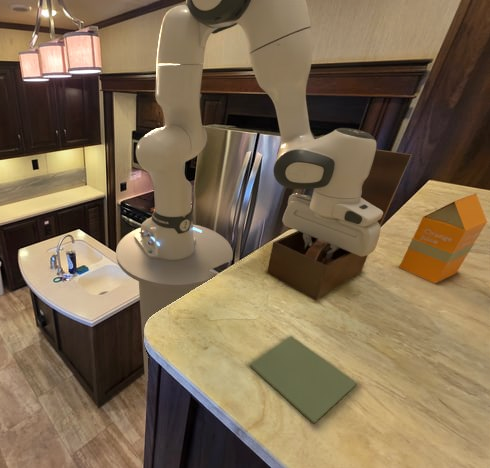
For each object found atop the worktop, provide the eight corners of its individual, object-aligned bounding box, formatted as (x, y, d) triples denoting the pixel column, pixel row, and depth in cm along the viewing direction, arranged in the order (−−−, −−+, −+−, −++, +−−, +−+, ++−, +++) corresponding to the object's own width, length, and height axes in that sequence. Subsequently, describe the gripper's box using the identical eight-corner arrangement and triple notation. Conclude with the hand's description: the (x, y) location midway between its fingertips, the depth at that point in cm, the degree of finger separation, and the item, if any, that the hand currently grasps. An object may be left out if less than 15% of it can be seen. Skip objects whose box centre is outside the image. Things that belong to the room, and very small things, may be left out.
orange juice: (457, 273, 71) (502, 198, 62) (435, 283, 69) (479, 207, 59) (418, 257, 78) (454, 187, 68) (397, 267, 75) (431, 195, 65)
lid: (410, 154, 60) (420, 152, 63) (343, 145, 71) (353, 143, 73) (373, 239, 69) (383, 234, 71) (318, 219, 80) (328, 216, 82)
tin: (307, 285, 70) (319, 257, 66) (293, 279, 72) (304, 252, 68) (327, 259, 79) (338, 233, 74) (314, 254, 81) (325, 228, 76)
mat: (249, 365, 54) (249, 364, 53) (290, 337, 58) (291, 336, 58) (313, 424, 44) (314, 422, 44) (356, 385, 49) (357, 383, 49)
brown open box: (316, 300, 67) (327, 267, 62) (266, 272, 77) (273, 241, 72) (361, 272, 74) (373, 240, 70) (310, 250, 85) (318, 220, 80)
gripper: (283, 193, 73) (272, 240, 80) (377, 223, 57) (354, 278, 64) (298, 187, 75) (287, 233, 82) (392, 214, 60) (369, 268, 66)
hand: (317, 253), depth 73 cm, fingers closed on tin, 3 cm apart
